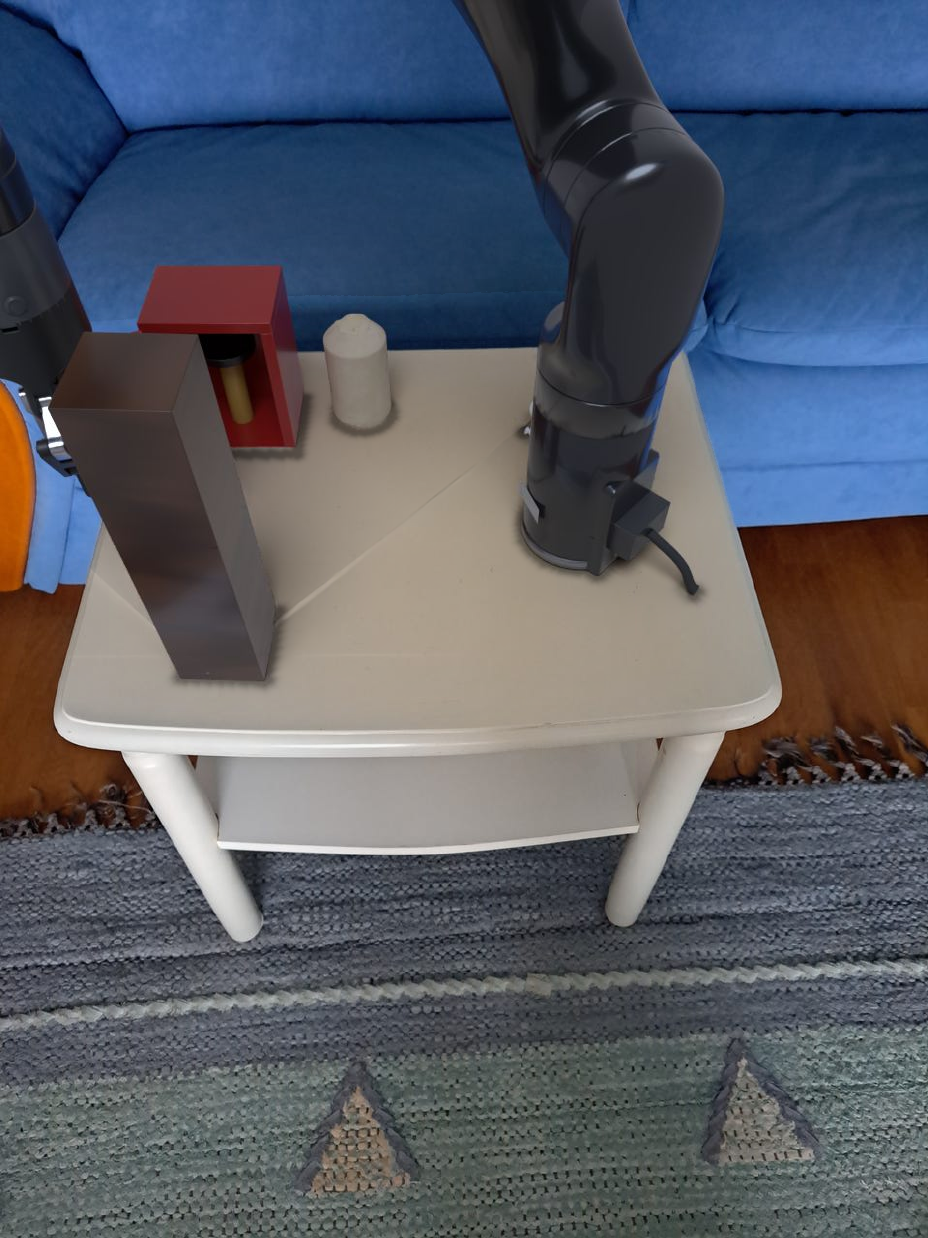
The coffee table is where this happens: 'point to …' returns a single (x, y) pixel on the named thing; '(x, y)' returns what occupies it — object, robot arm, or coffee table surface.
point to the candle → (358, 370)
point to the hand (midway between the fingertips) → (101, 483)
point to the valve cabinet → (237, 308)
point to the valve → (231, 369)
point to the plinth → (170, 496)
